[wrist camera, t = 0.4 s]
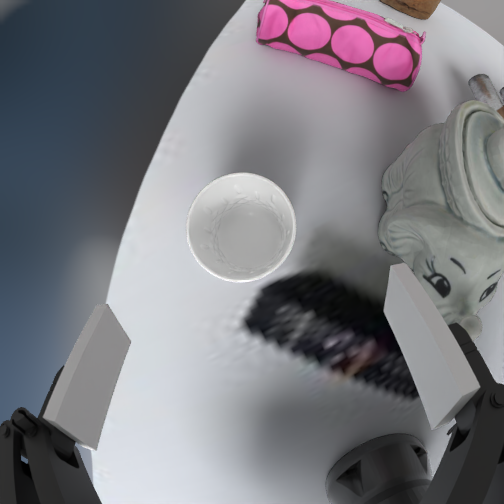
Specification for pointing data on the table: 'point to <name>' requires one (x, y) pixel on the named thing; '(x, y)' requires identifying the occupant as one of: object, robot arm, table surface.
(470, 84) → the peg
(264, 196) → the white cup
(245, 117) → the table surface
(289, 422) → the table surface
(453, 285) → the teapot
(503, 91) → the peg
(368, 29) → the pencil case
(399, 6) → the block
